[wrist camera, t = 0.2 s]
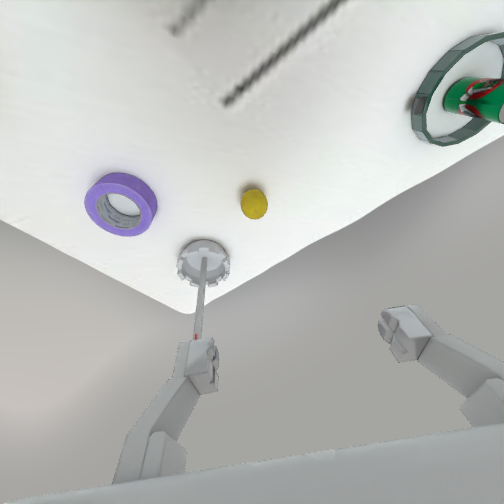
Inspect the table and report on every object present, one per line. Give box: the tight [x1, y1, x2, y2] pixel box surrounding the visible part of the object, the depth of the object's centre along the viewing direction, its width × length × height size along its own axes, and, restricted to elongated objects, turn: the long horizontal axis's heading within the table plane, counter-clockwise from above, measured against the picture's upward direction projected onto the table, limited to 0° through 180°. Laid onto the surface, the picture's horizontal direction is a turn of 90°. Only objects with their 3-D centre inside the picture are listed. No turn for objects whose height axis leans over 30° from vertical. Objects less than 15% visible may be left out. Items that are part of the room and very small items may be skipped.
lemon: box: [241, 189, 268, 219], centre depth 45 cm, size 6×6×8 cm
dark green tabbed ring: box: [411, 32, 504, 147], centre depth 38 cm, size 15×18×3 cm
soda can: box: [444, 77, 504, 124], centre depth 35 cm, size 5×5×12 cm
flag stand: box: [177, 240, 230, 340], centre depth 47 cm, size 13×13×30 cm
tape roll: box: [84, 173, 157, 236], centre depth 44 cm, size 12×12×5 cm
